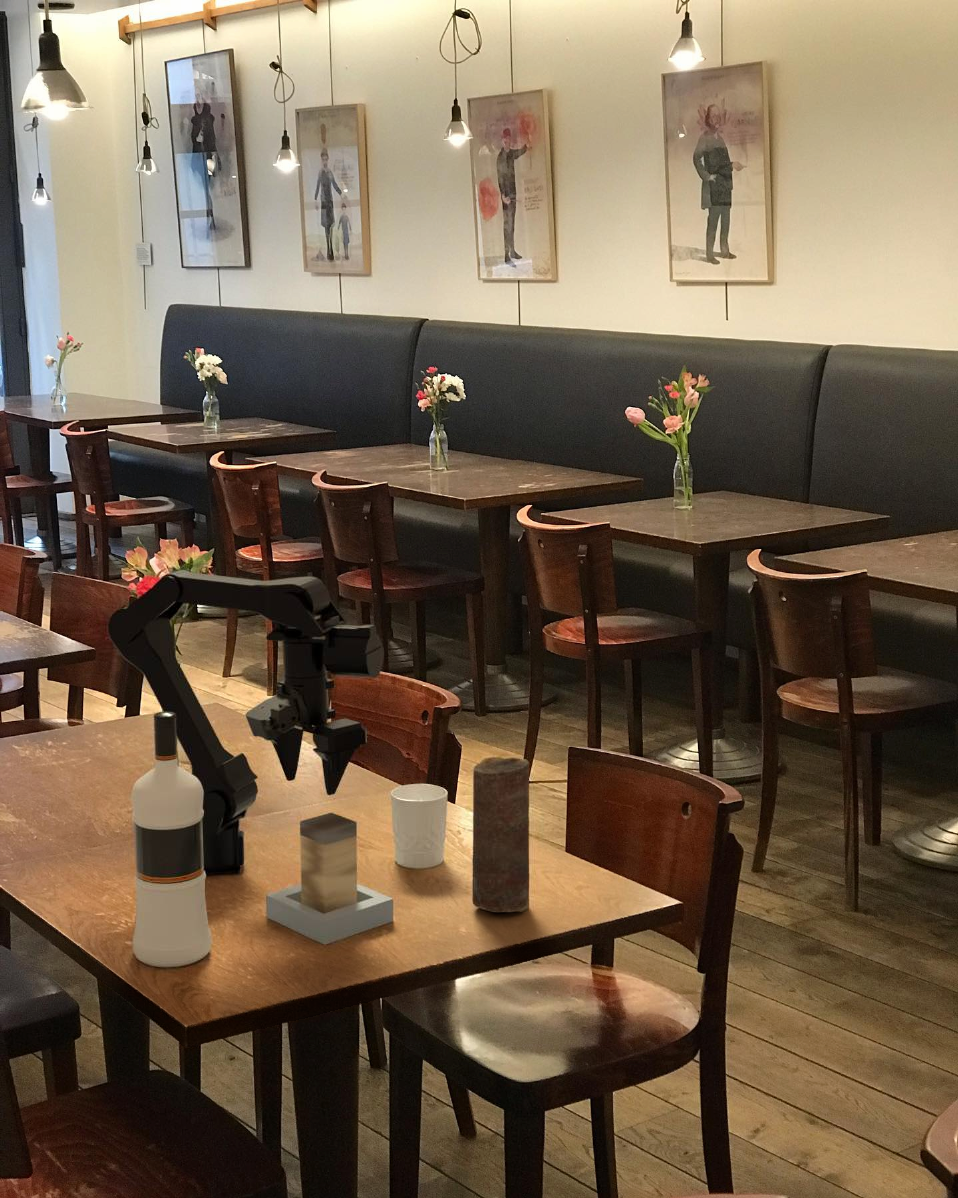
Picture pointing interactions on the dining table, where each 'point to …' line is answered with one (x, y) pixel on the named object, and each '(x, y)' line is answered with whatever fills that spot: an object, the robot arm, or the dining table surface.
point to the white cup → (419, 824)
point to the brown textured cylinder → (501, 834)
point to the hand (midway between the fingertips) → (310, 787)
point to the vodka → (169, 858)
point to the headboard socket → (329, 914)
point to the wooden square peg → (328, 862)
